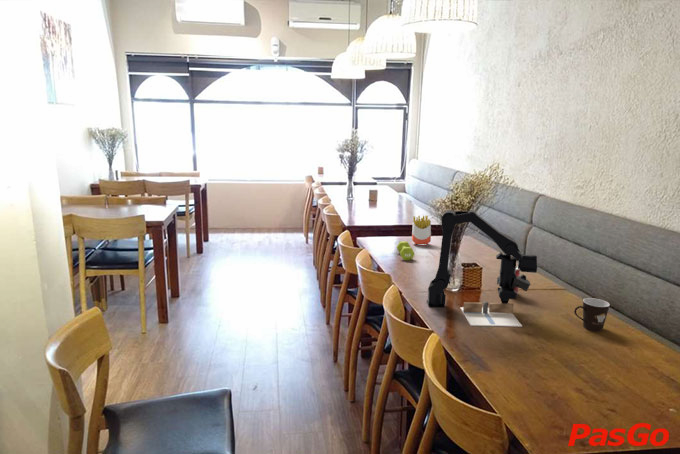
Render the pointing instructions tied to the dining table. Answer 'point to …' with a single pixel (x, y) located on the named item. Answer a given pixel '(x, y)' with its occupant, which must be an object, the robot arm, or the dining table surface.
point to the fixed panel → (475, 307)
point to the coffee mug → (594, 313)
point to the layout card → (491, 319)
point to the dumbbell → (405, 250)
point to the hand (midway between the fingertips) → (504, 307)
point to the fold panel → (500, 308)
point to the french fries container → (421, 230)
